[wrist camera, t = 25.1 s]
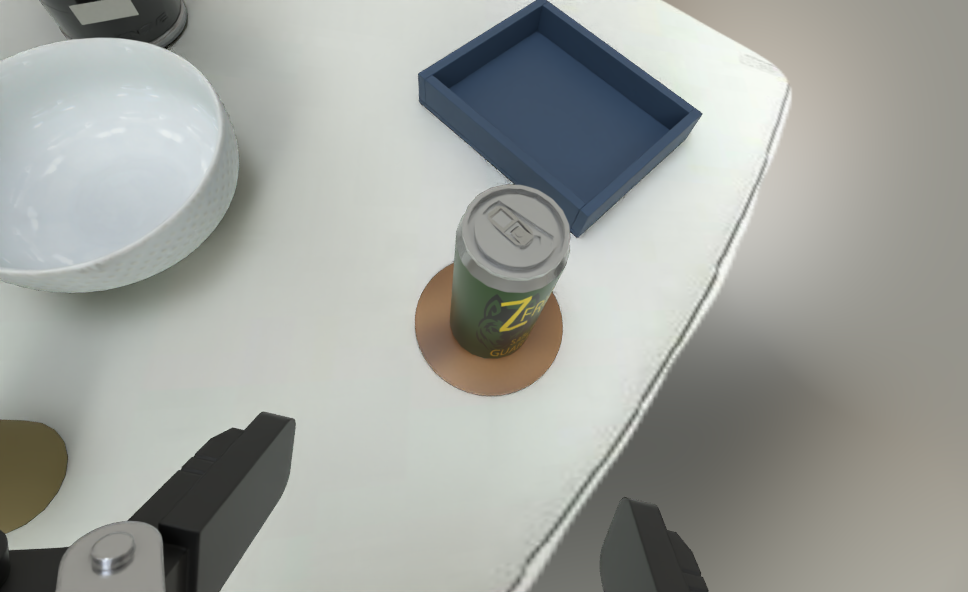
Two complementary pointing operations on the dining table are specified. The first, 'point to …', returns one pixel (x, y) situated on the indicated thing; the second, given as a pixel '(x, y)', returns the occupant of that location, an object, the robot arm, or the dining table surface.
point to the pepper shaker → (28, 470)
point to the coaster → (473, 369)
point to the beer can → (505, 267)
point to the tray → (557, 110)
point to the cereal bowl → (107, 163)
